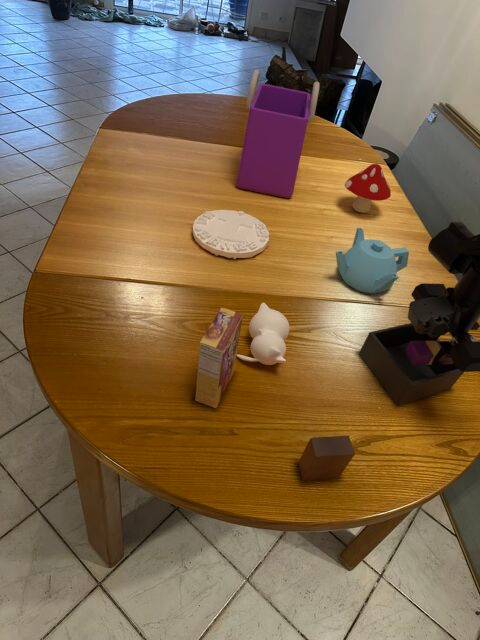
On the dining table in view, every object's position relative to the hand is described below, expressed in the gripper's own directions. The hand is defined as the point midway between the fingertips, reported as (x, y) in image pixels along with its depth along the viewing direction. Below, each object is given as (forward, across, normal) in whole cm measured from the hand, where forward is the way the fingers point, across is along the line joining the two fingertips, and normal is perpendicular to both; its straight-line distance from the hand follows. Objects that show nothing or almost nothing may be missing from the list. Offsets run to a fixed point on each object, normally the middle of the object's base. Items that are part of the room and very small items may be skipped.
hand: (429, 356), depth 77 cm
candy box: (+8, 0, -39) cm, 40 cm away
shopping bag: (+8, -84, -14) cm, 85 cm away
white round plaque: (+8, -48, -30) cm, 57 cm away
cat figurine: (+8, -9, -29) cm, 31 cm away
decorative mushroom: (+8, -66, +12) cm, 67 cm away
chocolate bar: (0, 0, 0) cm, 0 cm away
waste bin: (+8, -3, -1) cm, 8 cm away
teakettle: (+8, -32, +1) cm, 33 cm away
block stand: (+8, +17, -24) cm, 30 cm away
